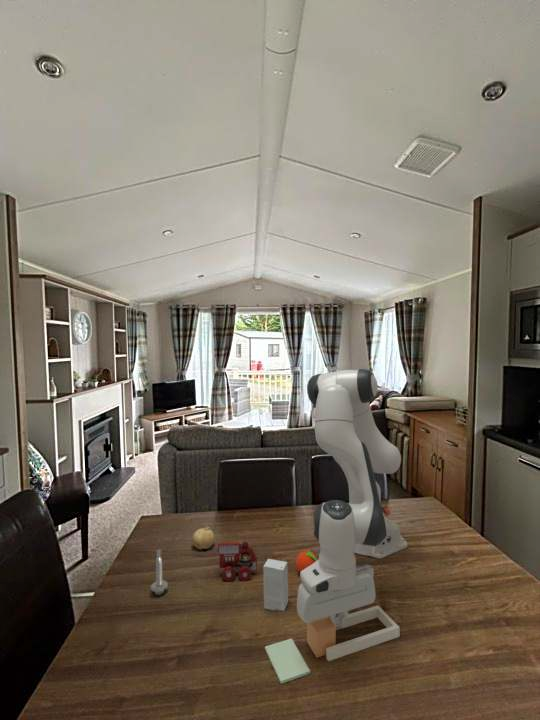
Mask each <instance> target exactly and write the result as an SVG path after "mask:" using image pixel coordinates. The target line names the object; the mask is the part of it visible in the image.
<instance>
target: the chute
mask: <svg viewBox="0 0 540 720" xmlns="http://www.w3.org/2000/svg"><path fill="white" fill-rule="evenodd" d="M376 618H377V619H378V620H379V621H380V622H381V623H382V624H383V625H384V626H385V628H383V629H380V630H377V631H374V632H370V633H367V634H365V635H360V636H359V637H355V638H352V639H350V640H349V639H348V640H345V641H343V642H340V643H337V644H336V645H334V646H331V647H327V648H326V655H325V658H326V660H327V662H331V661H333V660H336V659H339V658H342V657H344V656H345V657H346V656H347V655H351V654H354V653H356V652H359V651H362V650H365V649H368V648H371V647H375V646H376V645H380V644H383V643H385V642H388V641H391V640H394V639H397V638H400V635H401V633H400V632H401V630H400V629H401V628H400V626H399V625H398V624H397V623H396V622H395V621H394V620H393V619H392V618H391V617H390V616H389V615H388V613H386V611H384V610H383V609H382V607H381V606H379V605H376V606H371V607H368V608H365V609H361V610H358V611H355V612H352V613H348V616H347V618H346V620H345V621H344V628H347V627H351V626H354V625H357V624H360V623H363V622H367V621H370V620H373V619H376ZM344 628H341V629H344ZM341 629H338V630H341ZM338 630H337V631H338Z"/></svg>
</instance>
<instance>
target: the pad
mask: <svg viewBox="0 0 540 720" xmlns="http://www.w3.org/2000/svg"><path fill="white" fill-rule="evenodd" d="M264 651H266V654H267V657H268V658H269V660H270V663H271V665H272V668H273V670H274V671H275V674H276V676H277V678H278V680H279V683H280V685H281V684H285V683H287V682H290V681H293V680H295V679H296V680H297V679H299V678H302V677H304V676H307V675H310V674H312V672H311V670H310V669H309V667H308V664H307V662H306V661H305V659H304V658H303V655H302V653H300V650H299V648H298V647H297V644H296V643H295V641H294V640H293V638H292V637H291V638H289V639H286V640H281V641H279V642H275V643H273V644H269V645H266V646H264Z"/></svg>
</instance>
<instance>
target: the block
mask: <svg viewBox="0 0 540 720" xmlns="http://www.w3.org/2000/svg"><path fill="white" fill-rule="evenodd" d="M336 632H337V630H336V626H335V625H334V624H333V622H332V621H331V620H330V618H329V617H325V618H322V619H319V620H315V621H312V622H309V623H306V643H307V644H308V646H309V648H310V649H311V651H312V653H313V654H314V656H315V658H320V657H324V656H326V648H327V647H331V646H334V645H337V644H336V637H337V636H336V635H337V634H336Z"/></svg>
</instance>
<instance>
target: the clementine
mask: <svg viewBox="0 0 540 720" xmlns="http://www.w3.org/2000/svg"><path fill="white" fill-rule="evenodd" d="M295 559H296V560H295V565H296V568H297V571H299V573H300V572H301V571H302V570H304V569H305V568H307V567H309V566H310V565H312V564H313V563H315V562H316V561H317V560H318V558H317V556H316V555H315V554H314V552H312V551H311V550H302V551H301V552H299V554H298V555H297V557H296V558H295Z"/></svg>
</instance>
